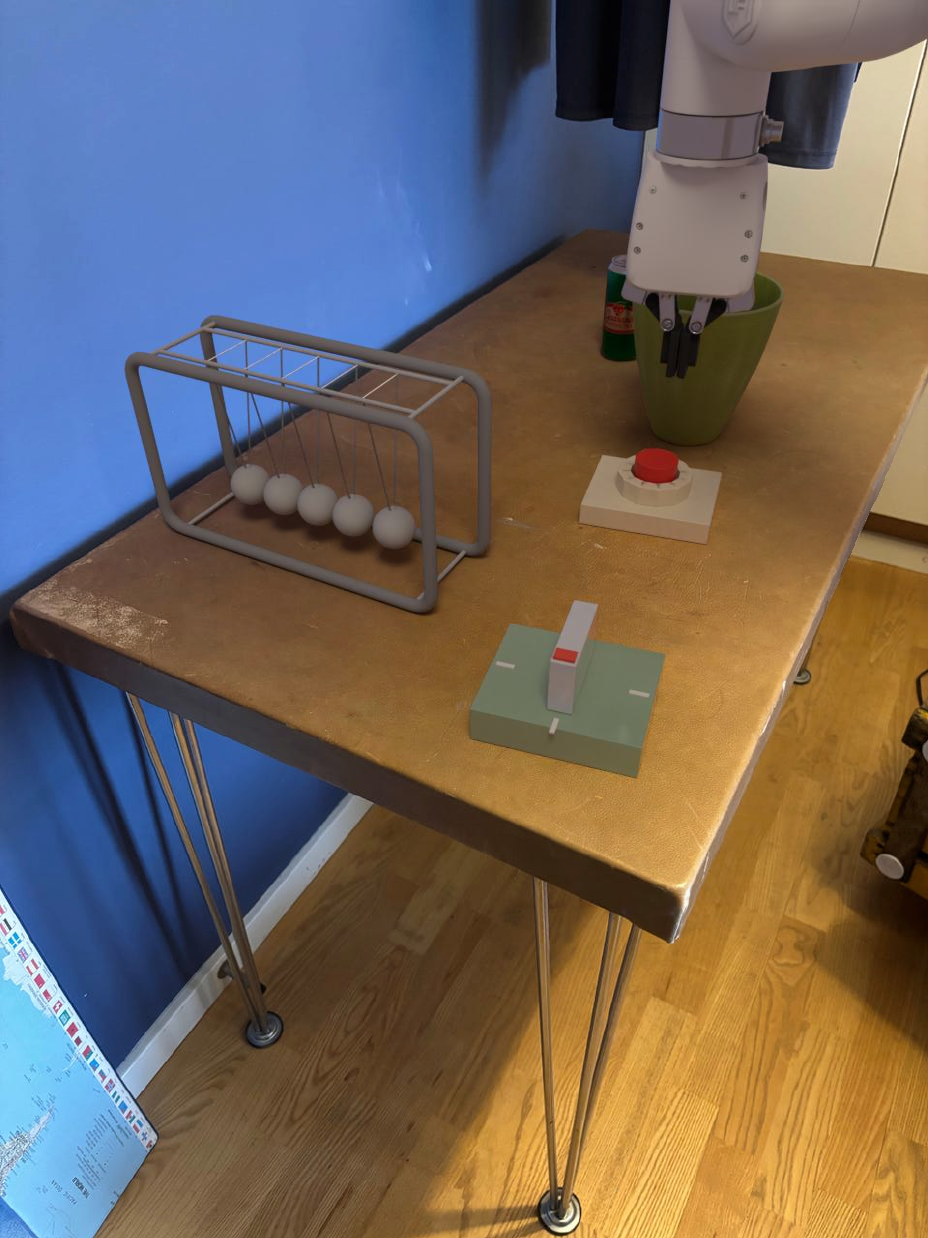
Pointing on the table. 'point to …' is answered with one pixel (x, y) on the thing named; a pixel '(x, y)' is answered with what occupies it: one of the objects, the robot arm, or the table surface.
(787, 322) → the table surface
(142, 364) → the newton's cradle
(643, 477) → the button
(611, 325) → the soda can
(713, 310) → the robot arm
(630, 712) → the panel
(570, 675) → the tap handle
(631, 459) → the button block
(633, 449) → the table surface
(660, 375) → the flower pot
